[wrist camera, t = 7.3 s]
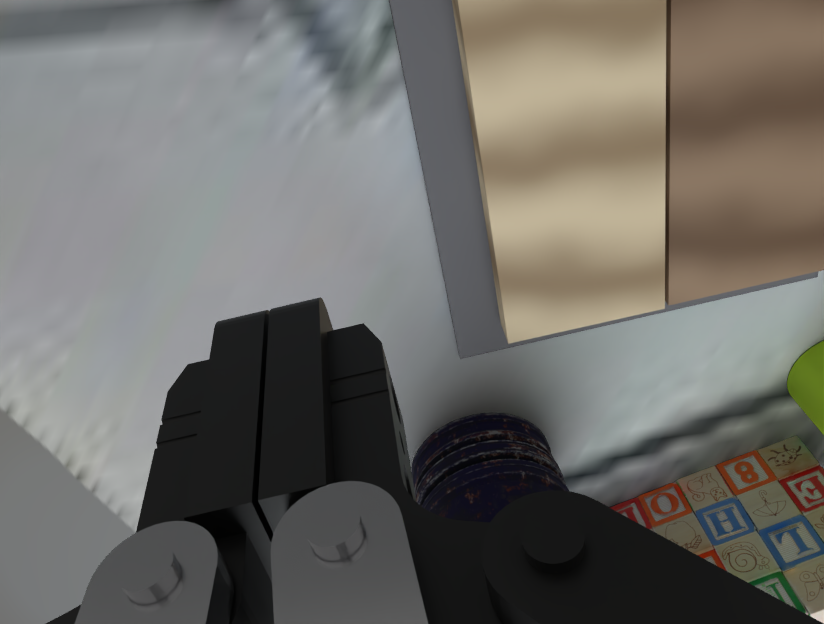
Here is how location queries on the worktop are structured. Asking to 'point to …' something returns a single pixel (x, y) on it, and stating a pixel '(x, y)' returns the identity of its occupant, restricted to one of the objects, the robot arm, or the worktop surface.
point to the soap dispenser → (809, 384)
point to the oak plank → (569, 156)
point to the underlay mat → (465, 178)
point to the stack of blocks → (750, 520)
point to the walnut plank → (743, 144)
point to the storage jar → (483, 466)
